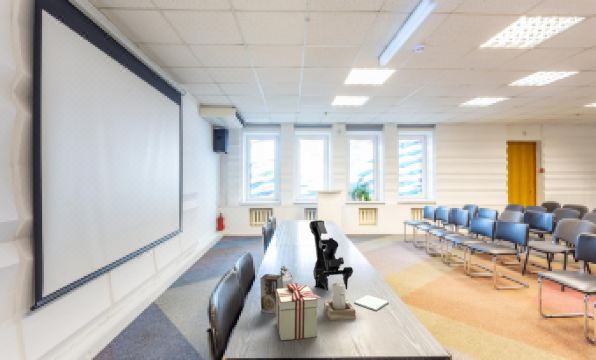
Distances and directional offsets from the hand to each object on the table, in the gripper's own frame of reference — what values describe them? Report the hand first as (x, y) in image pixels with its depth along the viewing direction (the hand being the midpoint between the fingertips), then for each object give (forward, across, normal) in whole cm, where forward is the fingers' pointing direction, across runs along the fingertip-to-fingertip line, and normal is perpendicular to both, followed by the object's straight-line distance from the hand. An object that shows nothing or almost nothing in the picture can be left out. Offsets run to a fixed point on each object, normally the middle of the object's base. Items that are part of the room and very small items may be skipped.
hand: (337, 289), depth 135 cm
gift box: (+16, -21, -1) cm, 26 cm away
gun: (-32, -19, +46) cm, 59 cm away
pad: (+4, +19, +10) cm, 22 cm away
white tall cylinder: (+10, 0, +4) cm, 11 cm away
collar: (+9, 0, +5) cm, 10 cm away
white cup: (-8, -22, +22) cm, 32 cm away
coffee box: (+2, -30, +12) cm, 33 cm away
